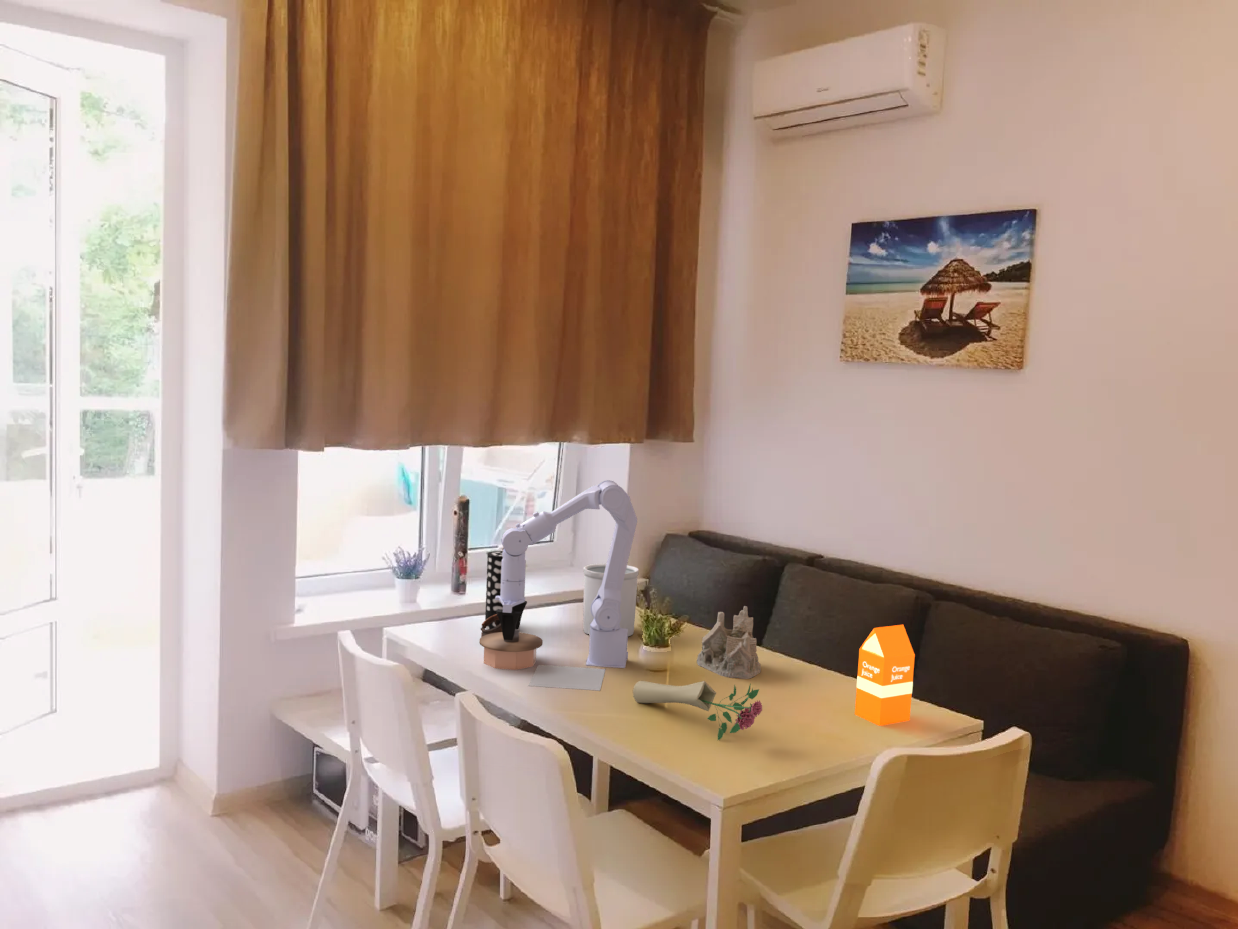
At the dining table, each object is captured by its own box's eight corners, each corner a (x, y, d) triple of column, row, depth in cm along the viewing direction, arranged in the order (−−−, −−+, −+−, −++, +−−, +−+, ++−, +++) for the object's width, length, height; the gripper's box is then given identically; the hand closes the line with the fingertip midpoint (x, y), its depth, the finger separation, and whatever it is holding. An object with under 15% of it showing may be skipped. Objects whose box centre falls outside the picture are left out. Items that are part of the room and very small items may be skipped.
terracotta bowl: (537, 657, 255) (538, 637, 255) (530, 672, 243) (531, 651, 243) (490, 654, 256) (490, 634, 255) (480, 668, 244) (481, 648, 244)
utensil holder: (577, 624, 288) (579, 562, 286) (629, 624, 291) (633, 562, 289) (584, 639, 274) (587, 573, 272) (640, 639, 276) (643, 574, 274)
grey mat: (605, 670, 247) (605, 669, 247) (599, 692, 231) (600, 690, 231) (538, 666, 248) (538, 664, 248) (528, 687, 232) (528, 685, 232)
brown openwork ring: (524, 649, 264) (510, 623, 261) (489, 663, 264) (475, 638, 261) (522, 625, 275) (509, 600, 272) (489, 639, 276) (476, 614, 272)
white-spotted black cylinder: (504, 621, 288) (507, 549, 286) (522, 628, 281) (524, 555, 279) (479, 625, 282) (481, 552, 280) (495, 632, 276) (498, 558, 274)
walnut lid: (547, 636, 256) (547, 624, 255) (536, 654, 241) (537, 641, 241) (487, 632, 257) (487, 620, 257) (472, 649, 242) (473, 636, 242)
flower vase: (656, 735, 227) (784, 749, 202) (615, 730, 220) (744, 743, 194) (662, 680, 230) (789, 687, 205) (622, 673, 223) (749, 678, 197)
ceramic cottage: (702, 654, 265) (706, 597, 262) (766, 665, 260) (771, 607, 257) (686, 674, 250) (690, 614, 247) (753, 687, 245) (759, 626, 242)
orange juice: (910, 720, 223) (917, 629, 221) (879, 726, 218) (886, 632, 216) (884, 709, 229) (890, 620, 227) (853, 714, 225) (860, 623, 223)
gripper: (501, 572, 255) (499, 626, 256) (490, 584, 240) (488, 642, 242) (530, 573, 254) (528, 628, 256) (521, 586, 240) (518, 644, 242)
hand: (511, 635), depth 249 cm, fingers open, 7 cm apart
